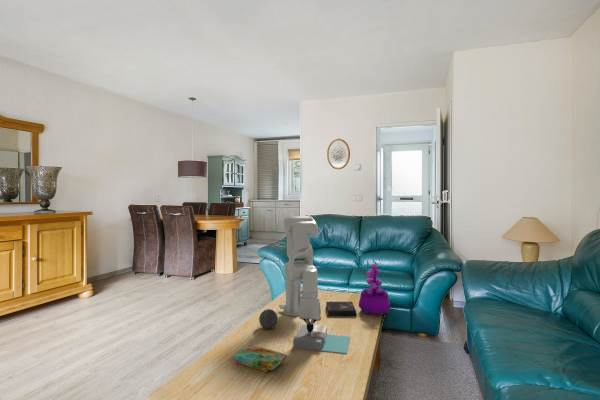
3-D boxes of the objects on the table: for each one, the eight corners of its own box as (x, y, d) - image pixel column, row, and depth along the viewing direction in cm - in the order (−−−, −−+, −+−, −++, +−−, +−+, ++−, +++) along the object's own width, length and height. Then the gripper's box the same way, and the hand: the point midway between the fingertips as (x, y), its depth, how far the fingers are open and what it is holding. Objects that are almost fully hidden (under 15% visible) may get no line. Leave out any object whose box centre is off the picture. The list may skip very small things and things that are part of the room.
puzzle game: (249, 342, 150) (287, 352, 141) (249, 352, 151) (287, 363, 141) (233, 353, 140) (272, 364, 131) (233, 364, 140) (272, 376, 131)
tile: (312, 336, 158) (312, 331, 158) (315, 329, 166) (315, 324, 166) (324, 337, 156) (324, 332, 156) (327, 331, 164) (327, 326, 164)
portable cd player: (356, 317, 195) (357, 310, 195) (328, 317, 195) (328, 310, 195) (353, 307, 211) (353, 301, 211) (326, 307, 212) (326, 301, 212)
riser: (293, 347, 155) (293, 339, 155) (302, 332, 172) (302, 324, 172) (320, 351, 152) (320, 342, 152) (326, 334, 169) (326, 327, 169)
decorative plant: (374, 320, 189) (374, 268, 188) (352, 311, 204) (352, 262, 204) (396, 314, 199) (397, 264, 198) (374, 305, 214) (374, 259, 214)
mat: (320, 351, 152) (320, 350, 152) (326, 334, 169) (326, 334, 169) (346, 354, 149) (346, 353, 149) (350, 337, 166) (350, 336, 166)
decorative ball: (255, 329, 176) (255, 311, 176) (265, 323, 185) (265, 305, 184) (271, 333, 171) (271, 314, 171) (281, 326, 180) (281, 308, 180)
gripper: (293, 295, 160) (293, 333, 160) (323, 297, 156) (323, 336, 156) (297, 291, 167) (297, 327, 167) (326, 293, 163) (326, 330, 164)
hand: (310, 331), depth 162 cm, fingers closed
